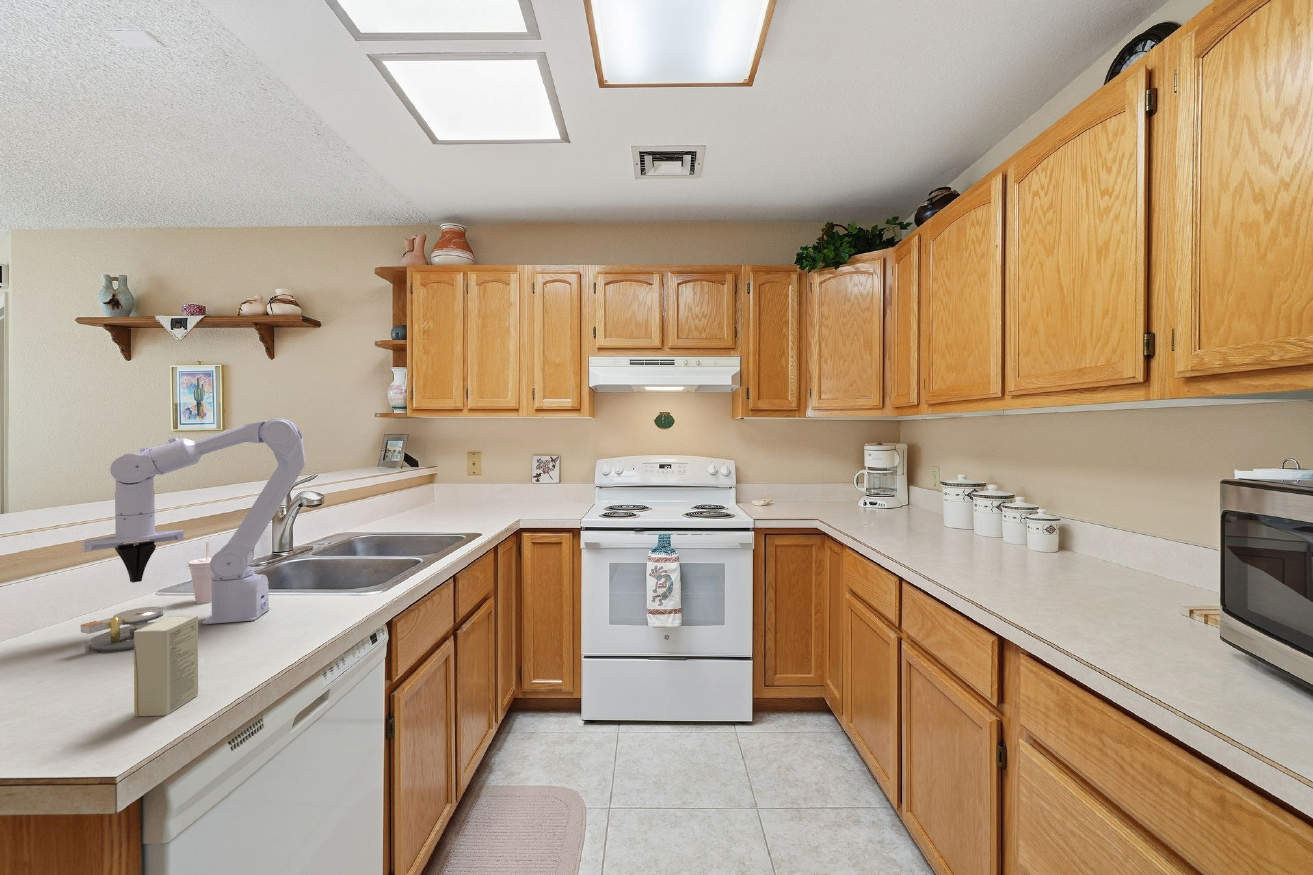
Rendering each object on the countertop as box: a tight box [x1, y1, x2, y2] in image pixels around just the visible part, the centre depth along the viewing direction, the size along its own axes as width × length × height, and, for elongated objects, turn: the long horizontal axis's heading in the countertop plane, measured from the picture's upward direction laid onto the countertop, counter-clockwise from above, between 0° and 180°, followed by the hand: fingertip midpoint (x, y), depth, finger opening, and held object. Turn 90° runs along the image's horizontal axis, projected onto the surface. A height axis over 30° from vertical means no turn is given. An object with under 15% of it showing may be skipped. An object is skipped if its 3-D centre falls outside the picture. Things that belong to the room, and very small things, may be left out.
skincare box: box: [133, 615, 199, 717], centre depth 78 cm, size 6×4×12 cm
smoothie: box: [187, 541, 214, 605], centre depth 128 cm, size 6×6×14 cm
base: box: [89, 617, 155, 653], centre depth 104 cm, size 13×13×6 cm
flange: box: [80, 606, 164, 635], centre depth 102 cm, size 12×7×1 cm, turn 164°
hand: (135, 581), depth 109 cm, fingers closed
